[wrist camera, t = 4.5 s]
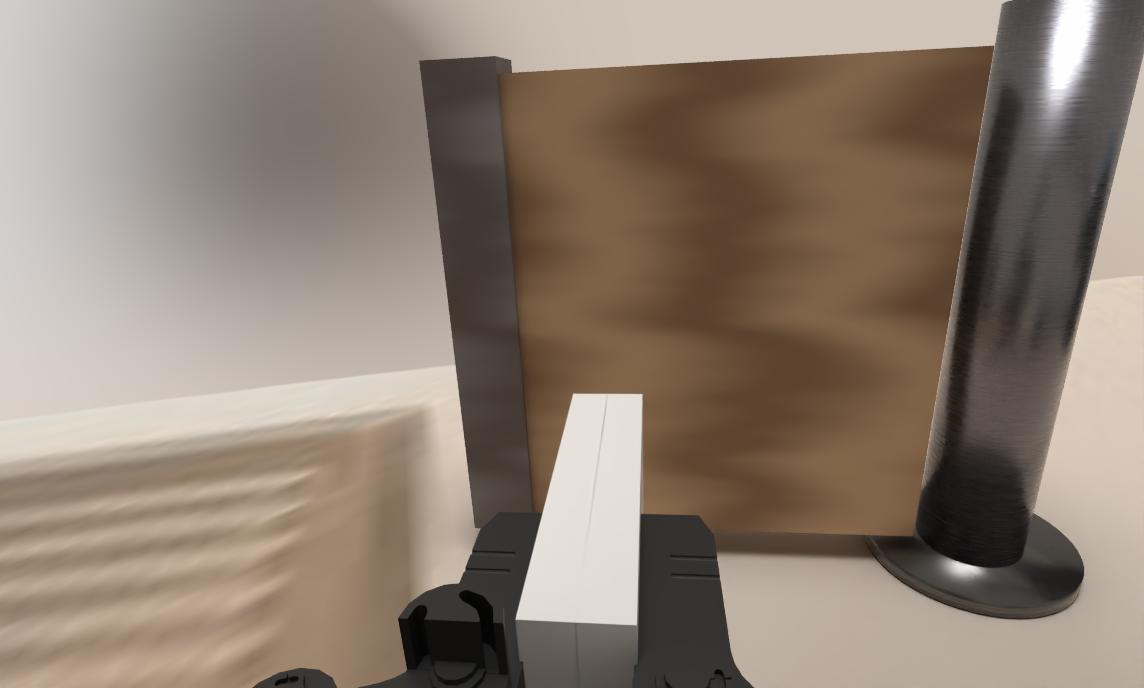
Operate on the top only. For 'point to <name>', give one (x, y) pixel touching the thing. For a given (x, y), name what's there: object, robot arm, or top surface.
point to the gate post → (1020, 308)
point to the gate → (709, 273)
